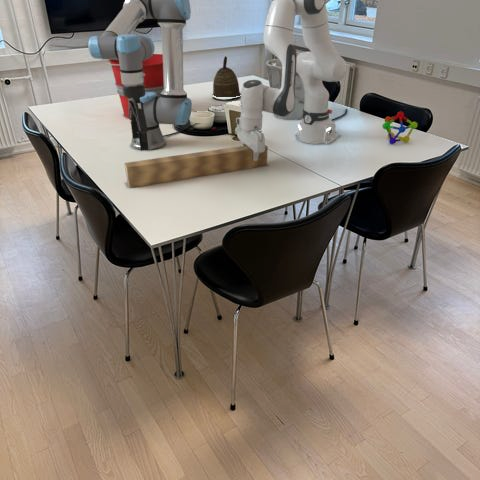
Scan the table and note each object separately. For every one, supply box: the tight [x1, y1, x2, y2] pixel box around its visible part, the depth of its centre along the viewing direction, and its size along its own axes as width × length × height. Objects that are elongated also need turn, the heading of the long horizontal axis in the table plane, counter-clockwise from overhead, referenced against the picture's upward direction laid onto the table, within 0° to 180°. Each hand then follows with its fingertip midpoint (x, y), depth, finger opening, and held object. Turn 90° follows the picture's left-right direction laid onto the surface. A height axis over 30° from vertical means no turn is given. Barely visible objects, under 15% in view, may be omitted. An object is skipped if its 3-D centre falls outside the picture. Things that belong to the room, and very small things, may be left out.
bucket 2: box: [265, 58, 305, 121], centre depth 241 cm, size 30×30×28 cm
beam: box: [124, 144, 269, 189], centre depth 177 cm, size 58×5×8 cm, turn 113°
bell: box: [212, 56, 241, 97], centre depth 278 cm, size 19×26×20 cm
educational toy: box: [382, 110, 418, 145], centre depth 207 cm, size 16×13×15 cm
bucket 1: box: [106, 53, 164, 119], centre depth 242 cm, size 35×35×30 cm
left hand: (140, 143), depth 163 cm, fingers open, 13 cm apart
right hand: (250, 156), depth 184 cm, fingers open, 8 cm apart
